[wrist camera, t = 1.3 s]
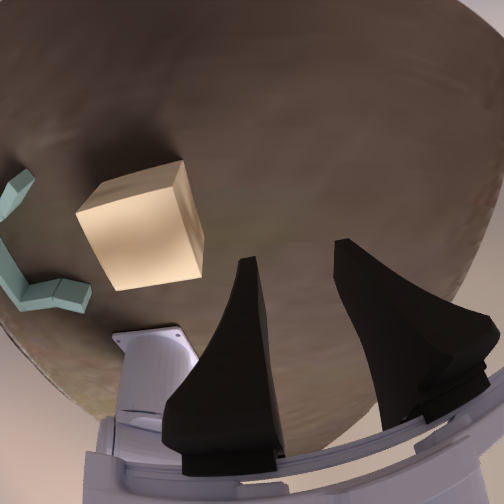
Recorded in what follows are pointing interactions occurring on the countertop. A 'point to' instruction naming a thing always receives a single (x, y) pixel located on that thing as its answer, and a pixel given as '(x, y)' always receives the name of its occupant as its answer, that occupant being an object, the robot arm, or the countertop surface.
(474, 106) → the countertop surface
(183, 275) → the birch block
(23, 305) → the dock
